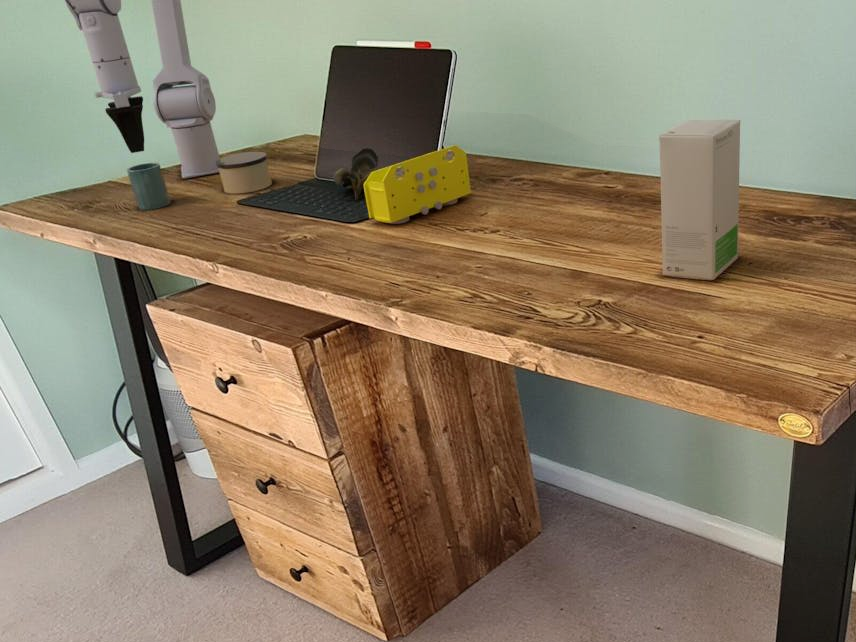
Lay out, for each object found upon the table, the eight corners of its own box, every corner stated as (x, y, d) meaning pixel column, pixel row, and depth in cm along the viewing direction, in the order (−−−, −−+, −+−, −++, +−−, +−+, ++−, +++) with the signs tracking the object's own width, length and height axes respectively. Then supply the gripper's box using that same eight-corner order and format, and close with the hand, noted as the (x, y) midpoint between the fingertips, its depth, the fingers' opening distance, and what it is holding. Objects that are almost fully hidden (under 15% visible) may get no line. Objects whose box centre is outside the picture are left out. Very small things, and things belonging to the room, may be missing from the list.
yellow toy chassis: (394, 229, 128) (383, 169, 124) (369, 223, 132) (358, 165, 127) (473, 198, 138) (466, 142, 133) (448, 194, 141) (441, 139, 137)
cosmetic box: (713, 282, 99) (715, 136, 91) (657, 276, 102) (654, 134, 94) (740, 257, 105) (744, 117, 97) (686, 252, 108) (686, 116, 100)
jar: (221, 186, 162) (214, 157, 159) (270, 177, 164) (263, 148, 161) (224, 197, 155) (216, 167, 152) (275, 187, 157) (268, 158, 154)
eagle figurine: (390, 188, 143) (390, 165, 150) (358, 155, 139) (359, 132, 146) (355, 217, 146) (356, 193, 153) (323, 186, 142) (326, 162, 148)
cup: (139, 204, 156) (127, 166, 153) (170, 198, 157) (159, 160, 154) (138, 211, 152) (126, 172, 149) (171, 205, 153) (159, 167, 150)
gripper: (87, 59, 148) (114, 144, 155) (82, 67, 136) (111, 159, 143) (132, 53, 150) (156, 138, 156) (130, 60, 138) (157, 152, 144)
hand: (137, 147), depth 150 cm, fingers open, 7 cm apart
